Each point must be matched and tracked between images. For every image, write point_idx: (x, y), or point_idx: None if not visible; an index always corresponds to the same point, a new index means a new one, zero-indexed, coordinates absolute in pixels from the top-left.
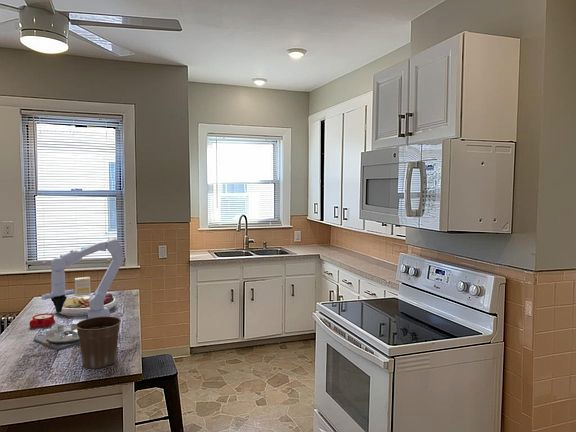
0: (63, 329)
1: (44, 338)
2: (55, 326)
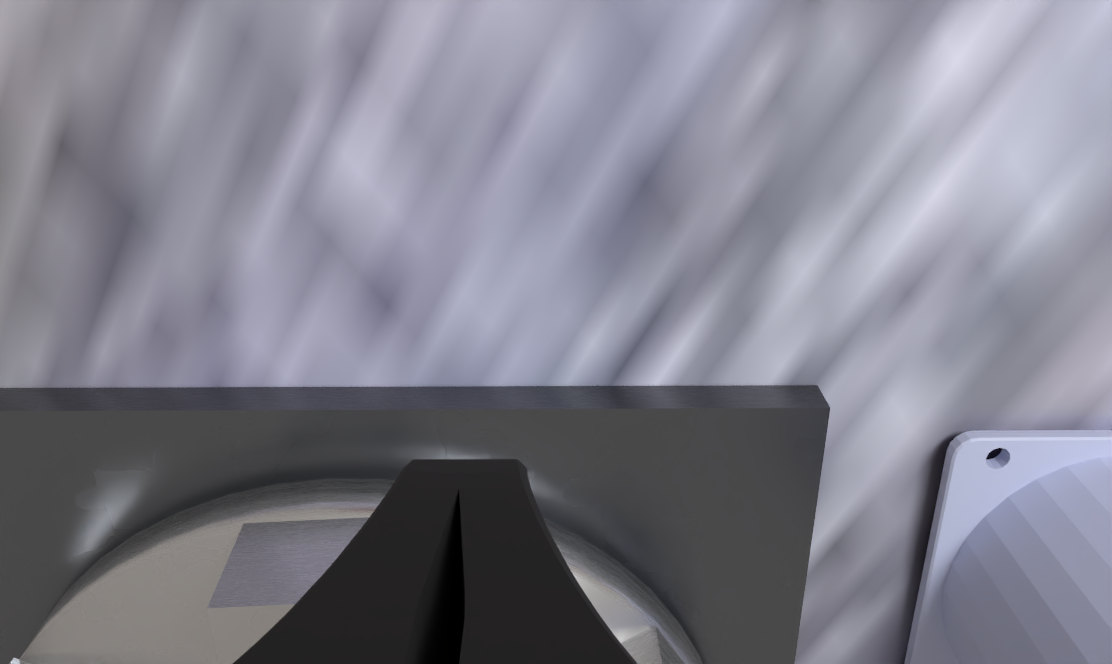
0: None
1: (23, 573)
2: (226, 648)
